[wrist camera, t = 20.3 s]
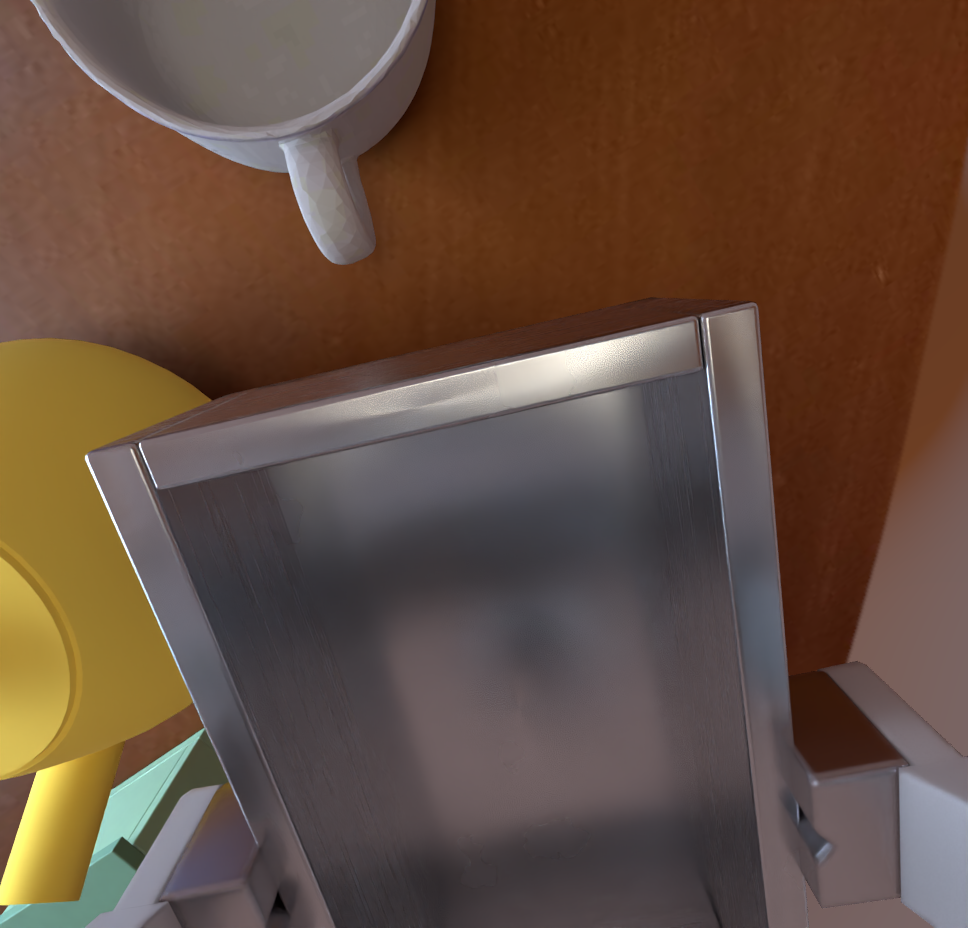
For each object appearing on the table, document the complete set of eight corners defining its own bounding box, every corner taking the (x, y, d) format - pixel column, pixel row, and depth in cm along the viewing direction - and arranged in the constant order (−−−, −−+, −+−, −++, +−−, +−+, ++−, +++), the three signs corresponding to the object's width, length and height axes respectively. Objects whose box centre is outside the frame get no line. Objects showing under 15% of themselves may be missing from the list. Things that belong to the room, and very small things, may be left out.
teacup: (124, -130, 20) (-96, -390, 12) (433, -167, 20) (405, -454, 12) (217, 286, 24) (96, 285, 16) (475, 259, 24) (474, 245, 16)
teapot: (327, 719, 30) (213, 1045, 17) (29, 717, 30) (-316, 1048, 17) (297, 333, 25) (92, 384, 11) (-71, 327, 24) (-712, 372, 11)
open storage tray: (733, 893, 11) (826, 1113, 8) (422, 946, 11) (402, 1177, 8) (654, 296, 8) (760, 300, 5) (224, 395, 8) (79, 453, 5)
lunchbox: (81, 810, 32) (-21, 942, 26) (206, 725, 30) (133, 844, 24) (225, 929, 35) (167, 1076, 28) (347, 858, 33) (315, 996, 27)
